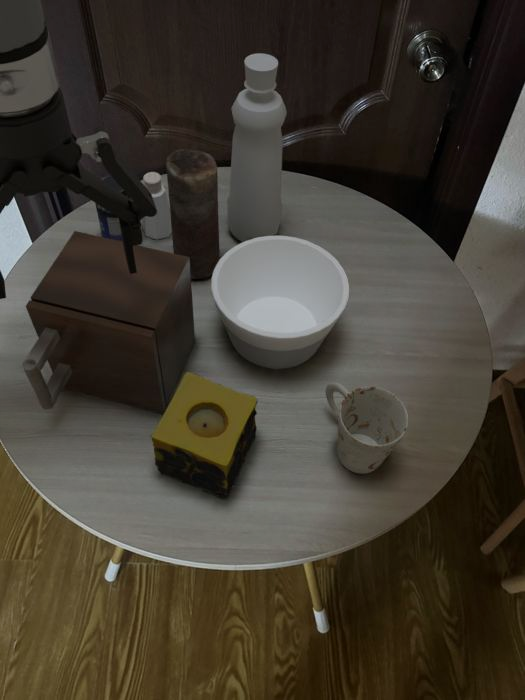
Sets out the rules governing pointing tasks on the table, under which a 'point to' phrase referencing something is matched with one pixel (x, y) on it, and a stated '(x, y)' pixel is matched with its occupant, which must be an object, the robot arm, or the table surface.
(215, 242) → the candle
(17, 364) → the table surface
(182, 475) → the candle
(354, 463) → the mug
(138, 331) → the door
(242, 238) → the bottle
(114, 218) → the pill bottle
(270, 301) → the bowl
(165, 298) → the cabinet
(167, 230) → the salt shaker
